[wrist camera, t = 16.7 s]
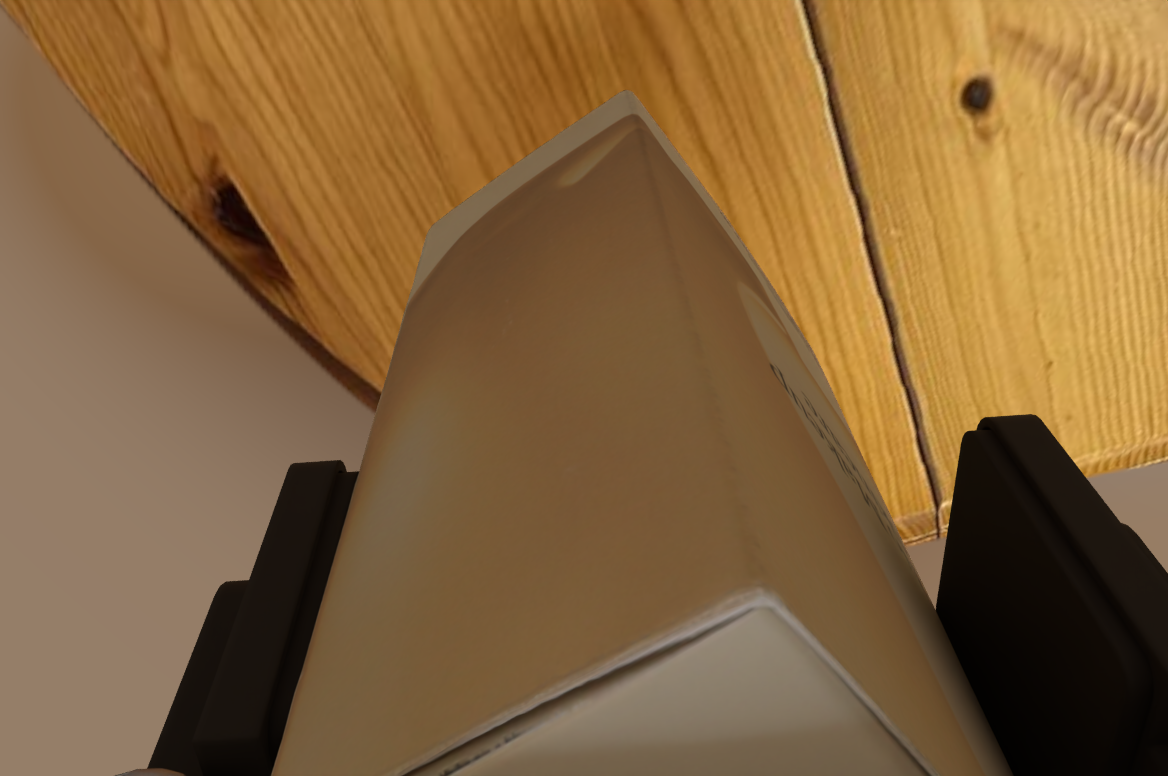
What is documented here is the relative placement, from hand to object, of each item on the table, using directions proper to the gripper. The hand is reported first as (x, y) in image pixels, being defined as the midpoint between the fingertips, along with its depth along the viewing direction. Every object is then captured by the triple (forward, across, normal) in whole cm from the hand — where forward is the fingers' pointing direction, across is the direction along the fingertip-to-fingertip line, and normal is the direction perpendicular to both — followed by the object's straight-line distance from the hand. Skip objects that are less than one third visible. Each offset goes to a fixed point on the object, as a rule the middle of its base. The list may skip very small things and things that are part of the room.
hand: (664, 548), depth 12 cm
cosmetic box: (+7, 0, 0) cm, 7 cm away
